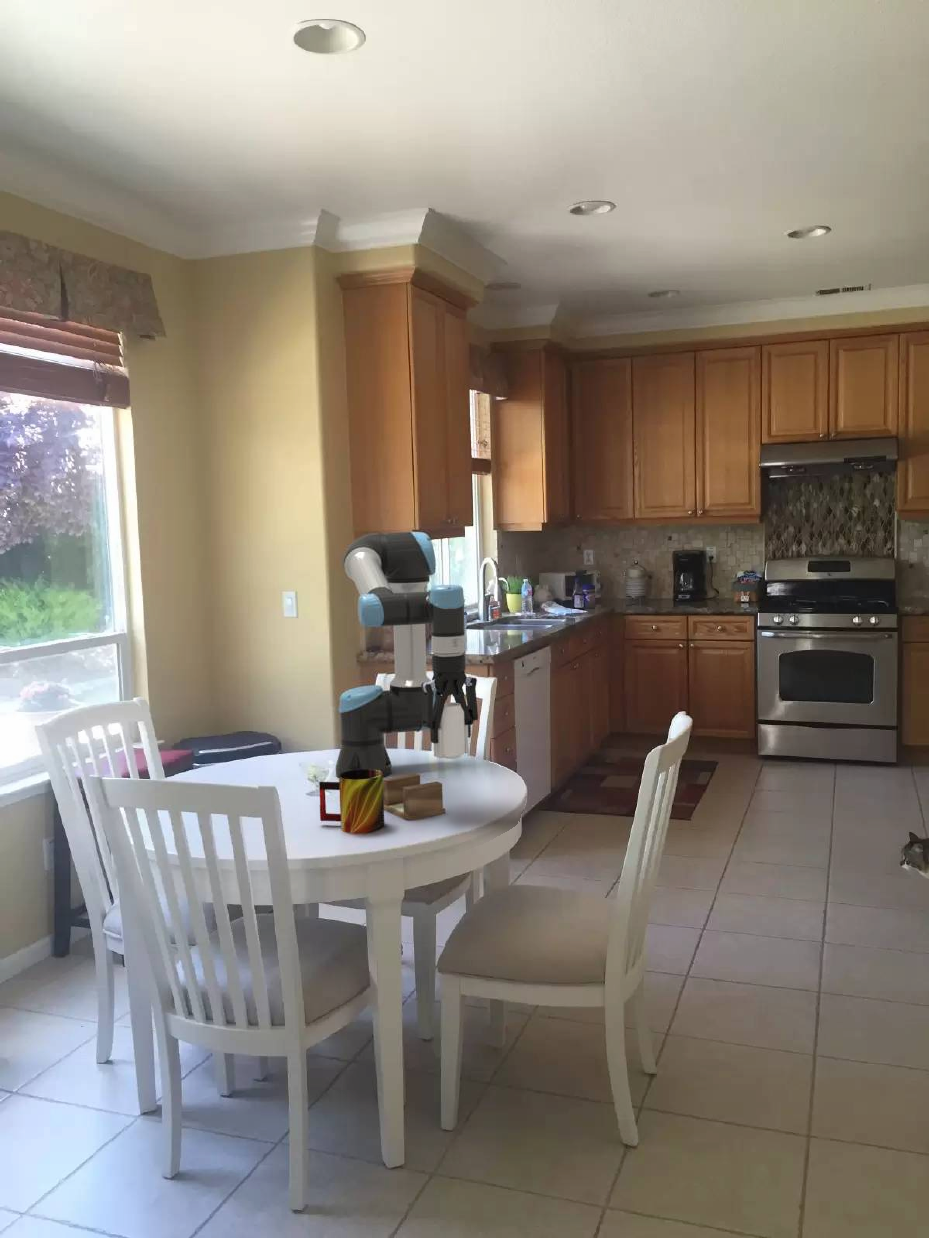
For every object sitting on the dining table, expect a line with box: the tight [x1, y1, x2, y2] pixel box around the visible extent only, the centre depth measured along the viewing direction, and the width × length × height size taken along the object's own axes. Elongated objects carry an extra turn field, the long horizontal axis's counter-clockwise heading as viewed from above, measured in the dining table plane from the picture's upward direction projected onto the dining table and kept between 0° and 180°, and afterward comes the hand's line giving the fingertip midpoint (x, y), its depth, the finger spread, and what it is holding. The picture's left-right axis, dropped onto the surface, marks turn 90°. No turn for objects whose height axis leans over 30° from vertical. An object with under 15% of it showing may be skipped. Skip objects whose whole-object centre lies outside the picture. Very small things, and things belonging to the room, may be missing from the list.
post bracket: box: [383, 773, 446, 821], centre depth 239 cm, size 13×10×7 cm
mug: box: [318, 769, 385, 835], centre depth 226 cm, size 10×14×12 cm
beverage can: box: [439, 702, 466, 760], centre depth 232 cm, size 6×6×12 cm
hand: (451, 754), depth 233 cm, fingers closed on beverage can, 6 cm apart
